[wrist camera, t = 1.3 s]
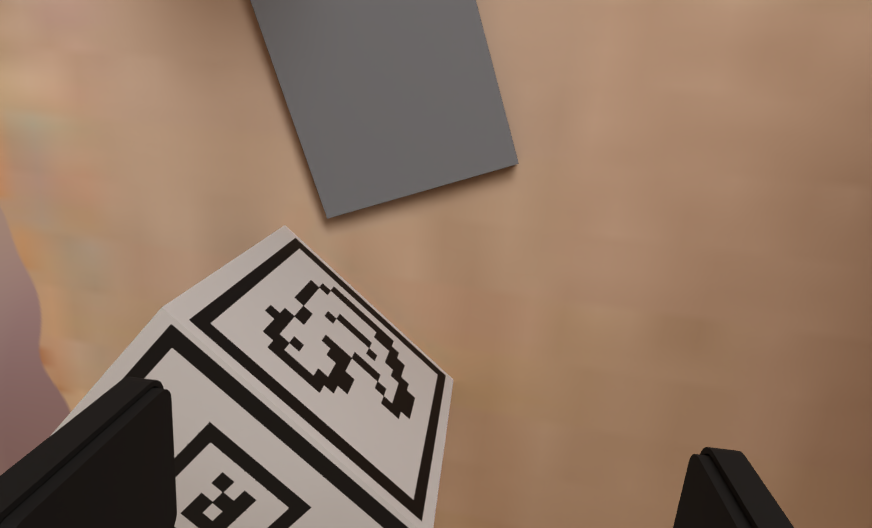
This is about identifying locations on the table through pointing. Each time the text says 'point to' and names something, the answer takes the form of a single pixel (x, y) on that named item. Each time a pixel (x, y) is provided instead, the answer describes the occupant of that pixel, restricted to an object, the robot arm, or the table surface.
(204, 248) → the table surface
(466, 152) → the rubber mat
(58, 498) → the robot arm
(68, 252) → the table surface
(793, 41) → the table surface
